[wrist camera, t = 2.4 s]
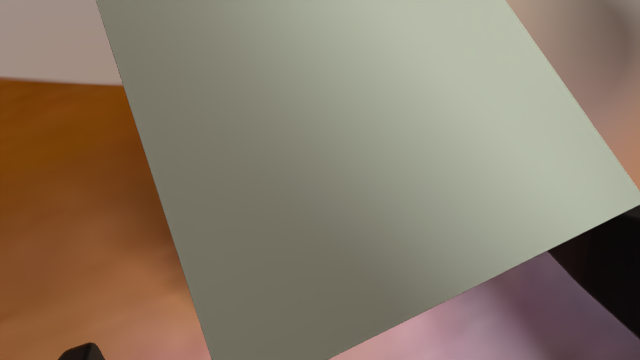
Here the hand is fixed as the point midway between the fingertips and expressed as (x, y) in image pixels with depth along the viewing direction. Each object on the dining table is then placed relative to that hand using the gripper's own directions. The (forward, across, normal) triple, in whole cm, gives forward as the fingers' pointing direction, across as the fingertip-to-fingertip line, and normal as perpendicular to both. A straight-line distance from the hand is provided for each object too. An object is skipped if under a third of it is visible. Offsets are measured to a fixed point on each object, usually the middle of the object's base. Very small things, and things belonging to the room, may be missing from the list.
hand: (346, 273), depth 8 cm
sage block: (+8, 0, +5) cm, 9 cm away
